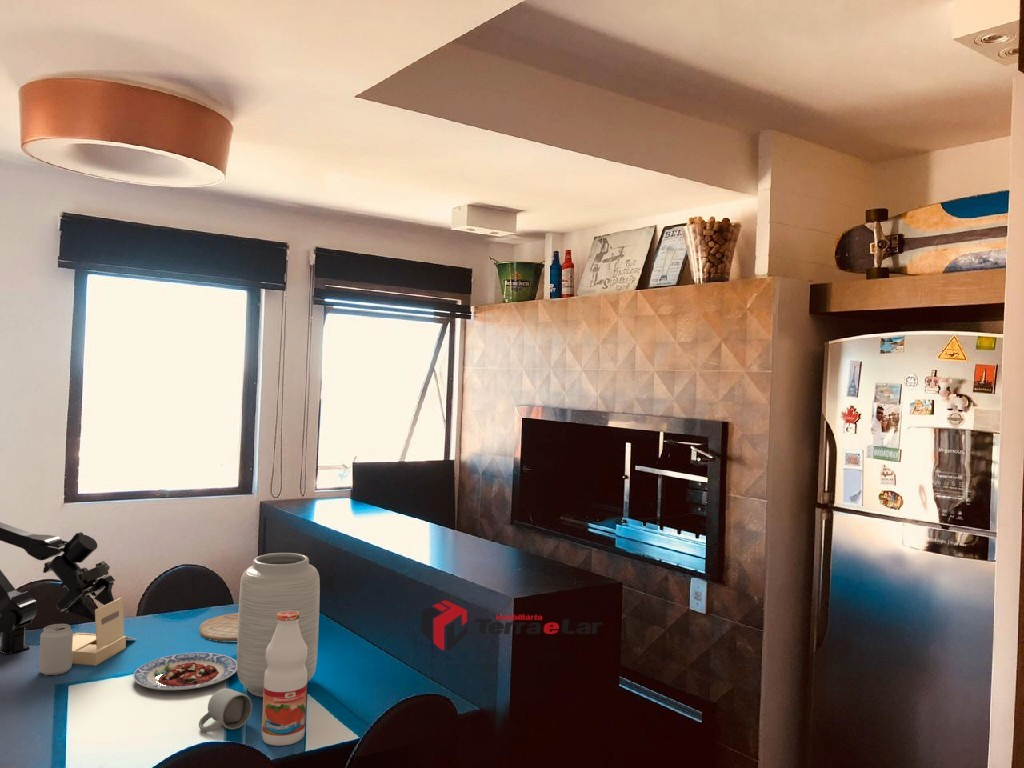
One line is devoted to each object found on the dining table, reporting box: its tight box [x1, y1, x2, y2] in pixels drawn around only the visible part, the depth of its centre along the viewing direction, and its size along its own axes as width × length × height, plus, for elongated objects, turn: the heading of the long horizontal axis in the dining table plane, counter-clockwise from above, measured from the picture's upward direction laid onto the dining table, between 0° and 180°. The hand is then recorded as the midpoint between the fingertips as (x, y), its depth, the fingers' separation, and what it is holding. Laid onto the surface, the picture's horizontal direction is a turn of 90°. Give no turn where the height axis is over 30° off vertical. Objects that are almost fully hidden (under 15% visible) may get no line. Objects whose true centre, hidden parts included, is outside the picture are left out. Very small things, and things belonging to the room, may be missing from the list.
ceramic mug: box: [198, 688, 253, 734], centre depth 179 cm, size 11×8×8 cm
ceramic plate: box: [132, 652, 237, 691], centre depth 206 cm, size 26×26×3 cm
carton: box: [72, 632, 137, 667], centre depth 222 cm, size 15×21×4 cm
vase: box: [236, 552, 321, 698], centre depth 202 cm, size 20×20×34 cm
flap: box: [94, 597, 125, 650], centre depth 218 cm, size 1×12×11 cm, turn 174°
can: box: [38, 623, 74, 676], centre depth 206 cm, size 8×8×12 cm
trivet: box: [198, 612, 239, 642], centre depth 245 cm, size 25×25×2 cm
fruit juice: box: [261, 610, 308, 747], centre depth 174 cm, size 9×9×28 cm
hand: (105, 614), depth 218 cm, fingers open, 9 cm apart
